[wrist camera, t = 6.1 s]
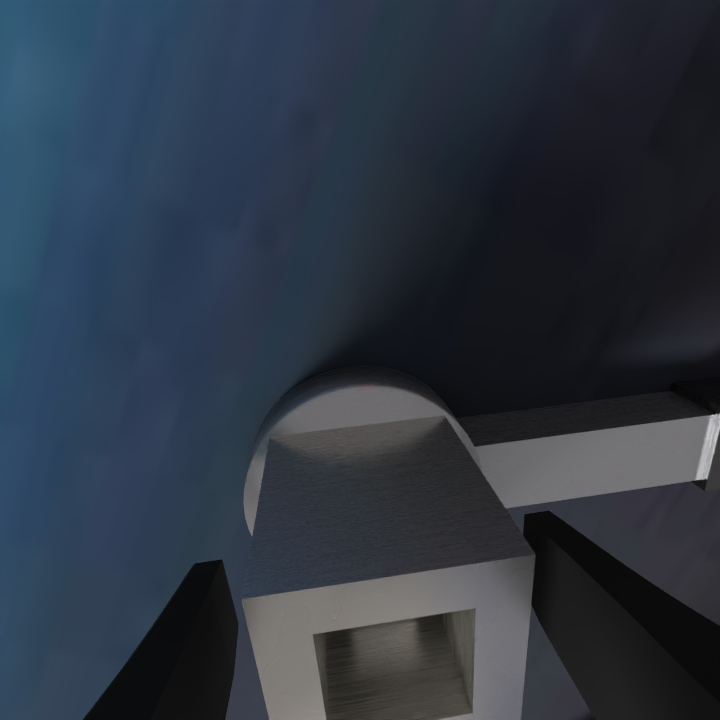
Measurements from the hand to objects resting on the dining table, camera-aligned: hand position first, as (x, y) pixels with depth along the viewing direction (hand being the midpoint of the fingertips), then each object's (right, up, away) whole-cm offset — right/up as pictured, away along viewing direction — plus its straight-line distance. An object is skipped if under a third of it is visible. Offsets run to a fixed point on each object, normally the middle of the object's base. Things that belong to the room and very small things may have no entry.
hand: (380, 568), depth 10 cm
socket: (0, +1, +2) cm, 3 cm away
